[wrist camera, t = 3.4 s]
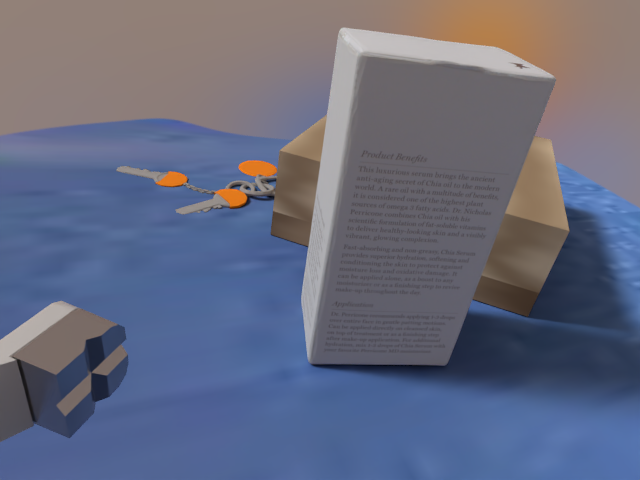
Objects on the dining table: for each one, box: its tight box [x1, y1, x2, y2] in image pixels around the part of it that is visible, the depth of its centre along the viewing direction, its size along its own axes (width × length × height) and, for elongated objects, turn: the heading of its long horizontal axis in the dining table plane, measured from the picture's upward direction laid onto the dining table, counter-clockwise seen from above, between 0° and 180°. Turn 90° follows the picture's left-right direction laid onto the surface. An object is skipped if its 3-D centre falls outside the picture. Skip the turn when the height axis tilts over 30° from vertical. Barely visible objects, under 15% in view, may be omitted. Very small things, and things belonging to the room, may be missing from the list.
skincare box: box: [301, 28, 556, 366], centre depth 18 cm, size 6×4×12 cm
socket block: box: [271, 115, 569, 317], centre depth 30 cm, size 14×14×5 cm
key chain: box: [117, 160, 277, 214], centre depth 31 cm, size 13×7×1 cm, turn 114°
